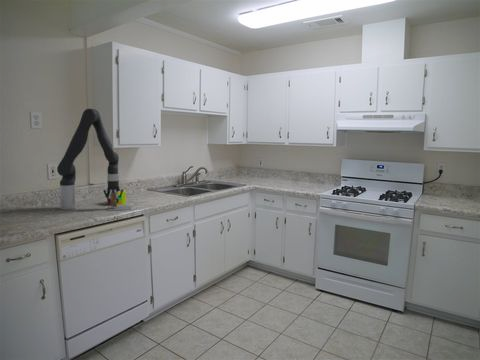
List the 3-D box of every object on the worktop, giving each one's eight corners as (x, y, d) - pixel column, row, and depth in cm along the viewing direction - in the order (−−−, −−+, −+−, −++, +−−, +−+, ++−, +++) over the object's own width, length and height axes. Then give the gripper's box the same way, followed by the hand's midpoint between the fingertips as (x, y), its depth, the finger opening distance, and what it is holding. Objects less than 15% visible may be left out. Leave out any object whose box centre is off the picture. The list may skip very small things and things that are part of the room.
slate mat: (107, 210, 230) (107, 210, 230) (108, 207, 242) (108, 206, 242) (131, 209, 235) (131, 209, 235) (131, 206, 246) (131, 205, 246)
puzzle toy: (119, 201, 261) (118, 189, 260) (126, 203, 255) (125, 191, 254) (107, 203, 254) (107, 191, 252) (114, 205, 248) (113, 192, 246)
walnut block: (110, 207, 234) (110, 193, 233) (111, 205, 238) (110, 192, 237) (116, 206, 236) (116, 192, 234) (116, 205, 239) (116, 191, 238)
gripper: (101, 180, 229) (102, 204, 231) (123, 180, 233) (123, 204, 235) (102, 179, 236) (103, 202, 238) (123, 179, 240) (124, 201, 242)
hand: (113, 203), depth 237 cm, fingers closed on walnut block, 4 cm apart
